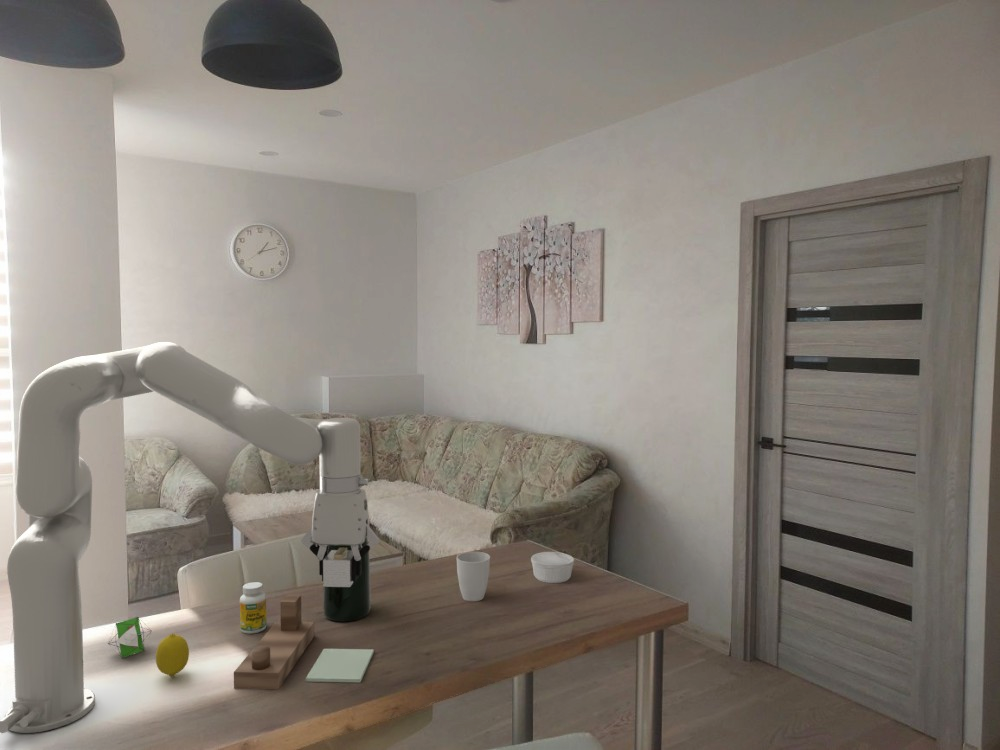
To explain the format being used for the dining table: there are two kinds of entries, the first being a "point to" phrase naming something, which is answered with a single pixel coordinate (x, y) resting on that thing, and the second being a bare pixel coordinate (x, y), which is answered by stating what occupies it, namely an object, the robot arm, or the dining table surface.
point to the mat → (340, 665)
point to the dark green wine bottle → (349, 594)
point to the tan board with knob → (276, 649)
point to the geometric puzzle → (130, 637)
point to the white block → (338, 568)
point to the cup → (473, 574)
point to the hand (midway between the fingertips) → (340, 578)
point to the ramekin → (552, 566)
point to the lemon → (172, 654)
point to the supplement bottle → (253, 608)
